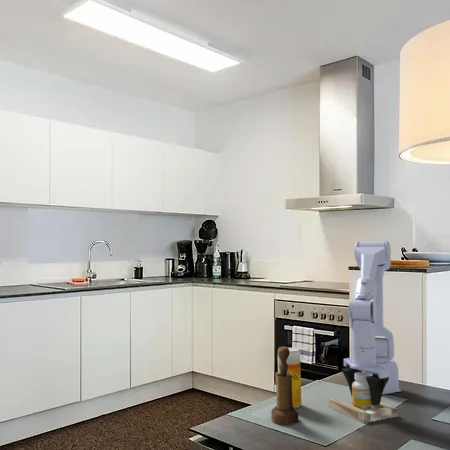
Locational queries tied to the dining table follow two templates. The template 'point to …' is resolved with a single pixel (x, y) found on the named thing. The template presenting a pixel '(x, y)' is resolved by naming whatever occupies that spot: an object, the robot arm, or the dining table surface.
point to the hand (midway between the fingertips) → (365, 400)
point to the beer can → (294, 374)
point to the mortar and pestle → (284, 393)
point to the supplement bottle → (361, 392)
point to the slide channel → (364, 416)
